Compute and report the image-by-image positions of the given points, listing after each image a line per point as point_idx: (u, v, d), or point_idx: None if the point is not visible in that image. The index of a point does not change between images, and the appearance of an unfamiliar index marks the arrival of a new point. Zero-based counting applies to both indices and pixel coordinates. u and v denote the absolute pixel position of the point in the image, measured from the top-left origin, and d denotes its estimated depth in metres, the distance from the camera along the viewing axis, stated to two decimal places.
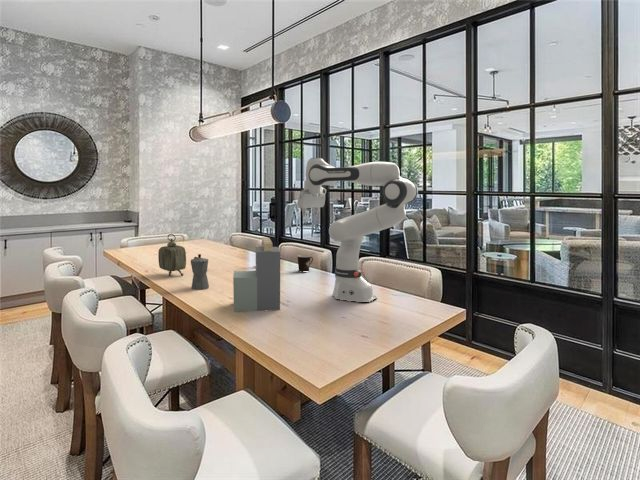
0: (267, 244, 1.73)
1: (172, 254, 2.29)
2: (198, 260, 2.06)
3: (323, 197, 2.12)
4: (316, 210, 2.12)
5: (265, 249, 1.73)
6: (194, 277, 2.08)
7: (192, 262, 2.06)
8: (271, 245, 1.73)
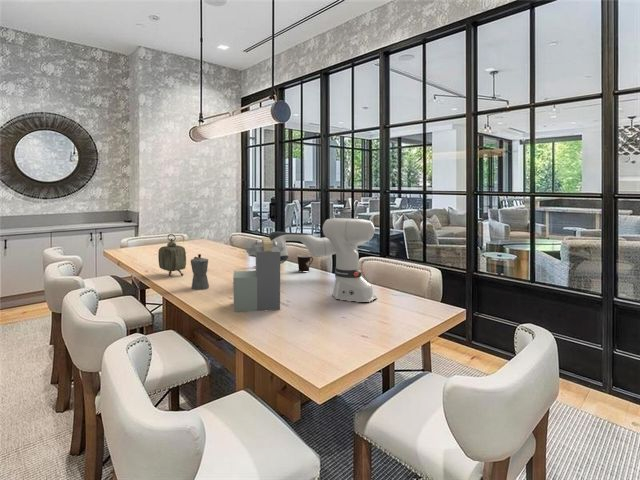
0: (267, 244, 1.73)
1: (172, 254, 2.29)
2: (198, 260, 2.06)
3: (249, 252, 2.14)
4: None
5: (265, 249, 1.73)
6: (194, 277, 2.08)
7: (192, 262, 2.06)
8: (271, 245, 1.73)
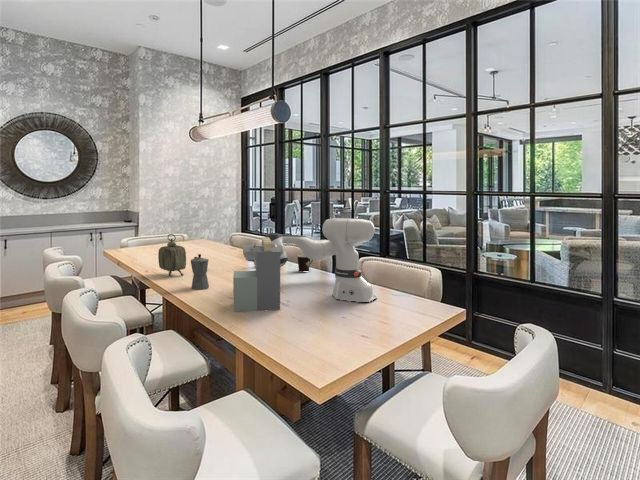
0: (267, 244, 1.73)
1: (172, 254, 2.29)
2: (198, 260, 2.06)
3: (247, 256, 2.00)
4: None
5: (265, 249, 1.73)
6: (194, 277, 2.08)
7: (192, 262, 2.06)
8: (271, 245, 1.73)
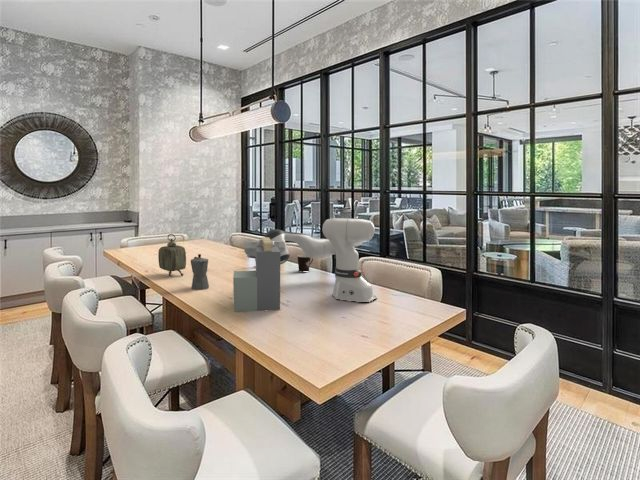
0: (267, 244, 1.73)
1: (172, 254, 2.29)
2: (198, 260, 2.06)
3: (248, 252, 1.96)
4: None
5: (265, 249, 1.73)
6: (194, 277, 2.08)
7: (192, 262, 2.06)
8: (271, 245, 1.73)
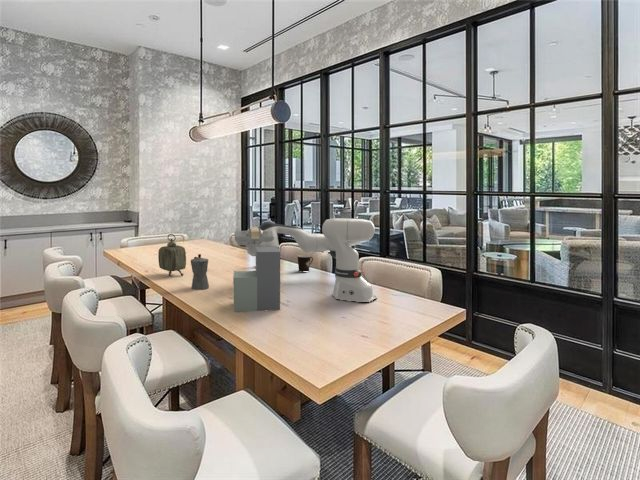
0: (254, 232, 1.84)
1: (172, 254, 2.29)
2: (198, 260, 2.06)
3: (239, 241, 2.07)
4: None
5: (252, 237, 1.85)
6: (194, 277, 2.08)
7: (192, 262, 2.06)
8: (258, 233, 1.85)
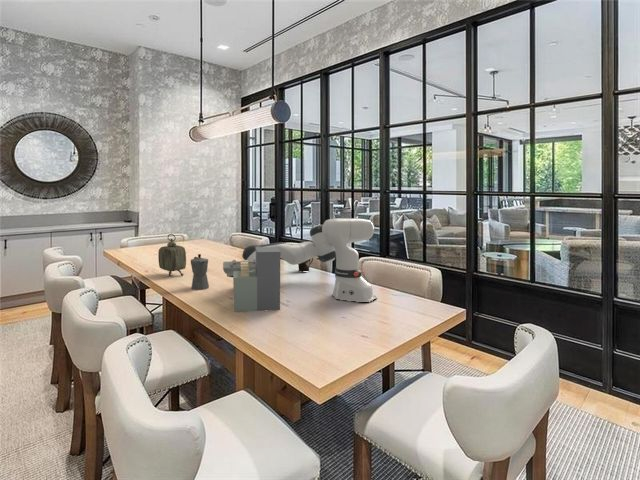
0: (243, 269, 1.73)
1: (172, 254, 2.29)
2: (198, 260, 2.06)
3: (228, 272, 1.95)
4: None
5: (241, 274, 1.73)
6: (194, 277, 2.08)
7: (192, 262, 2.06)
8: (248, 270, 1.73)
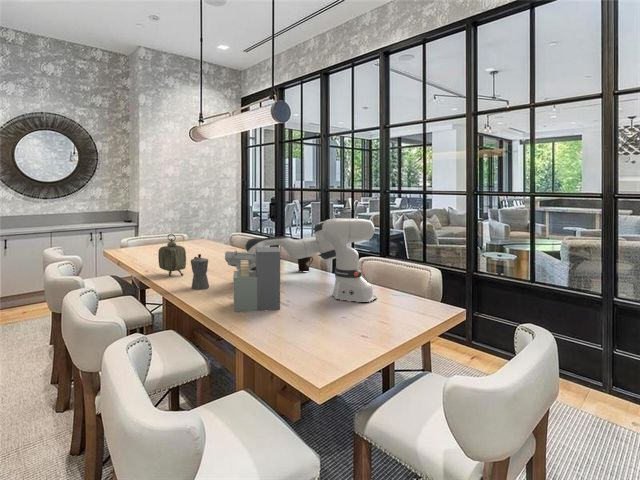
0: (243, 269, 1.73)
1: (172, 254, 2.29)
2: (198, 260, 2.06)
3: (229, 261, 2.07)
4: None
5: (241, 274, 1.73)
6: (194, 277, 2.08)
7: (192, 262, 2.06)
8: (248, 270, 1.73)
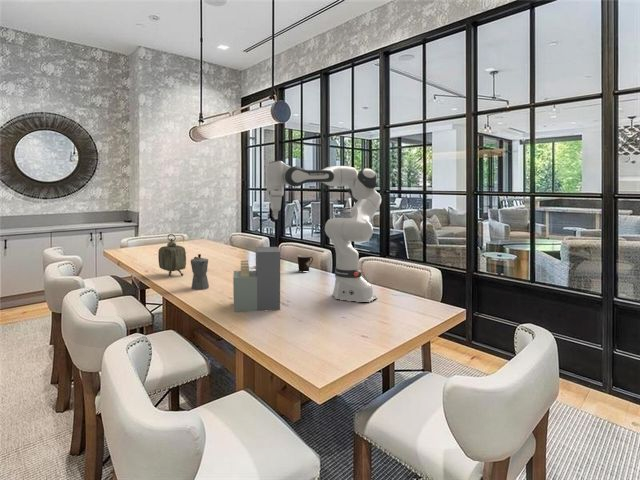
0: (243, 269, 1.73)
1: (172, 254, 2.29)
2: (198, 260, 2.06)
3: None
4: None
5: (241, 274, 1.73)
6: (194, 277, 2.08)
7: (192, 262, 2.06)
8: (248, 270, 1.73)
